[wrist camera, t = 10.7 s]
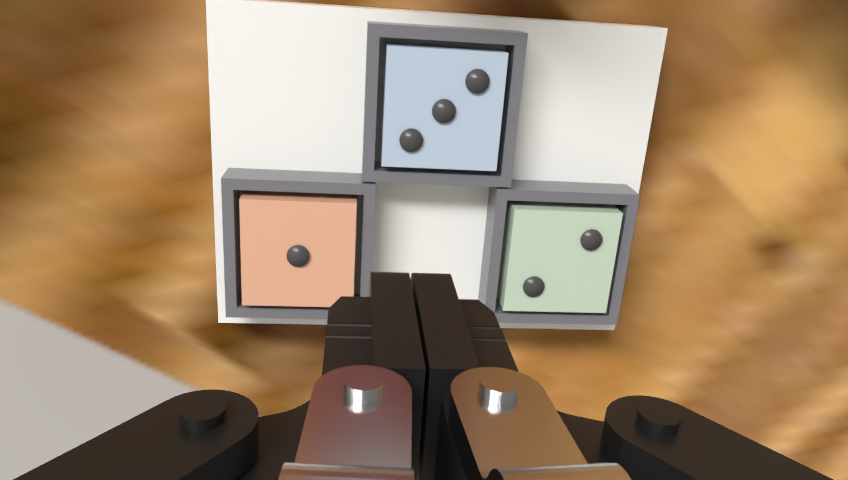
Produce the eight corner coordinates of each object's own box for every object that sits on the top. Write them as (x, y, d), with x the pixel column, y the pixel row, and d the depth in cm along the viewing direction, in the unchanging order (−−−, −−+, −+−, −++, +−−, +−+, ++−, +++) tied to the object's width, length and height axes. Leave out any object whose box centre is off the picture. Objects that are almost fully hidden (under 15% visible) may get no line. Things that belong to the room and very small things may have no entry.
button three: (500, 48, 30) (509, 53, 29) (489, 161, 32) (496, 171, 30) (385, 42, 30) (387, 46, 28) (380, 156, 32) (381, 167, 30)
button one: (356, 191, 32) (356, 204, 30) (353, 291, 34) (353, 308, 32) (245, 187, 32) (238, 200, 30) (247, 288, 33) (241, 306, 31)
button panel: (650, 25, 33) (685, 30, 29) (602, 313, 38) (626, 346, 34) (215, -3, 31) (196, -2, 27) (225, 304, 36) (211, 340, 32)
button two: (609, 201, 33) (624, 214, 31) (594, 297, 35) (606, 314, 33) (506, 197, 33) (515, 210, 31) (495, 294, 34) (503, 312, 33)
